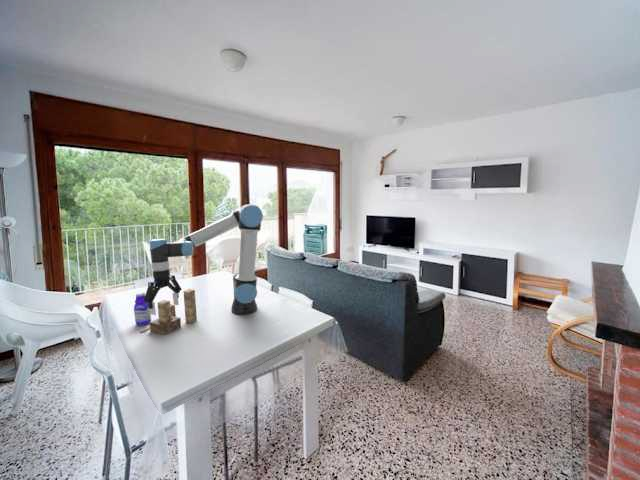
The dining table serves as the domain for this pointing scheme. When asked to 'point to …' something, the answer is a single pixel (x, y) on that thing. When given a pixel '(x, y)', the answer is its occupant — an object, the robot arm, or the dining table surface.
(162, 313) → the peg medium
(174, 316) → the peg short
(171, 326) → the hole block
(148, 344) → the dining table surface
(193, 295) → the peg long
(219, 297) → the dining table surface
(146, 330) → the strip
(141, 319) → the bottle
